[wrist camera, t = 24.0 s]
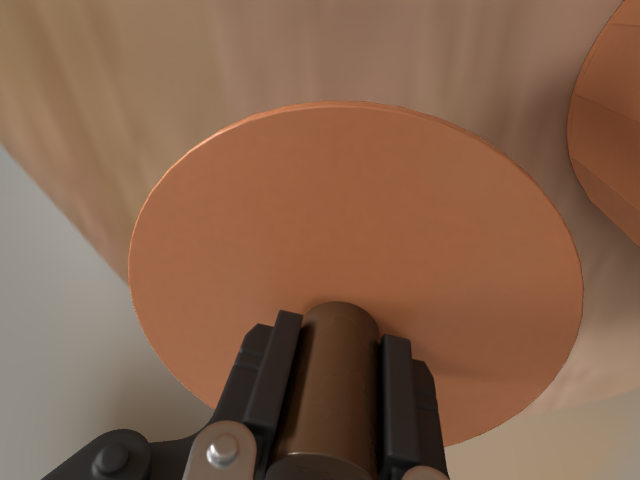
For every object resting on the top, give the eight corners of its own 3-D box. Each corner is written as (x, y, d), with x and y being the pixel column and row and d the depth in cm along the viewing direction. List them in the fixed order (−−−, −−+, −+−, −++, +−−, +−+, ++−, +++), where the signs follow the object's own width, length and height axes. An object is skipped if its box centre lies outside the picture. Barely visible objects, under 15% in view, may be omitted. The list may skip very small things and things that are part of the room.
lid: (155, 388, 17) (64, 545, 12) (129, 41, 10) (-129, 84, 5) (465, 460, 17) (500, 650, 12) (678, 161, 9) (998, 333, 4)
